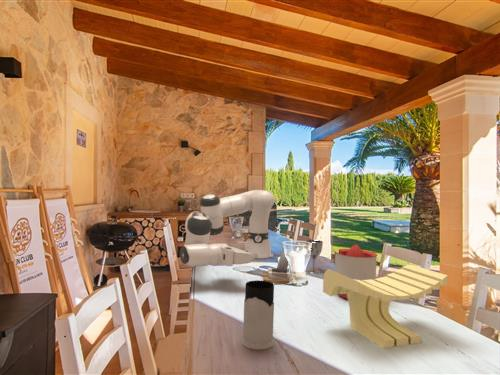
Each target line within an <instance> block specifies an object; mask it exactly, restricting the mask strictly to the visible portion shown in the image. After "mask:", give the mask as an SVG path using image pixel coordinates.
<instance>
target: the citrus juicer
mask: <svg viewBox="0 0 500 375" xmlns="http://www.w3.org/2000/svg"><path fill="white" fill-rule="evenodd" d="M377 256H378V254H377V253H375V252H374V251H370V250H362V249H361V248H360V246H359V245H358V244H354V245H352V246H351V247H350V248H339V249H338V251H334V257H333V258H332V259H331V260H330V262H329V264H333V265H334V271H335V272H337V273H340V274H342V275H344V276H346V277H349V278H351V279H355V280H360V281H361V280H370V279H372V280H374V279H376V278H377V276H376V275H377ZM337 295H338V296H340V298H343V299H346V300H348V298H347V293H346V294H339V293H337Z"/></svg>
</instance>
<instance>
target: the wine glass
mask: <svg viewBox="0 0 500 375" xmlns="http://www.w3.org/2000/svg"><path fill="white" fill-rule="evenodd" d="M306 242H310V243H312V248H311V249H312V250H311V255H309V256H310V258H311V260H312V268H311V269H310V268H309V269H306V270H305V271H306V272H307V273H310V274H321V271H320V270H318V269H315V264H316V260H317V258H318V257H319V256H320V255H321V253H322V252H323V244H324V241H323V240H318V239H307V240H306Z"/></svg>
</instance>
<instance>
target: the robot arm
mask: <svg viewBox="0 0 500 375" xmlns="http://www.w3.org/2000/svg"><path fill="white" fill-rule="evenodd" d="M274 205H275V196H274V194H272V192H270V191H268V190H267V189H266V190H265V189H253V190H249V191H245V192H242V193H238V194H234V195H228V196H225V197H221V198H219V197H218V195H216V194H211V193H210V194H206V195H204V196H201V198H200V200H199V206H200V211H198V210H197V211H192V212H191V213H189V214H188V216H187V217H186V219H185V222H184V223H185V225H184V229H185V232H186V234H185V241H184V245H183V246H181V248H180V250H179V258H180V262H181V263H182V264H183V265H185V266H189V267H190V266H191V267H207V266H213V267H220V266H221V267H222V266H223V267H233V266H234V265H246V264H251V263H252V261H253V260H254V259H269V258H274V254H273V253H272V252H271V251H272V250H271V246H272V244H271V241H270V240H269V219H270V214H271V210H272V207H273V206H274ZM251 210H252V212H251V215H250V217H249V222H248V224H249V225H248V226H249V228H248V232H247V239H246V240H245V242H244V249H241V248H236V247H234V246H229V245H228V244H227V243H210V244H209V242H210V236H218V235H220V234H221V233H223V232H224V229H225V228H224V218H226V217H227V218H228V217H231V216H235V215H240V214H244V213H245V212H248V211H251Z"/></svg>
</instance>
